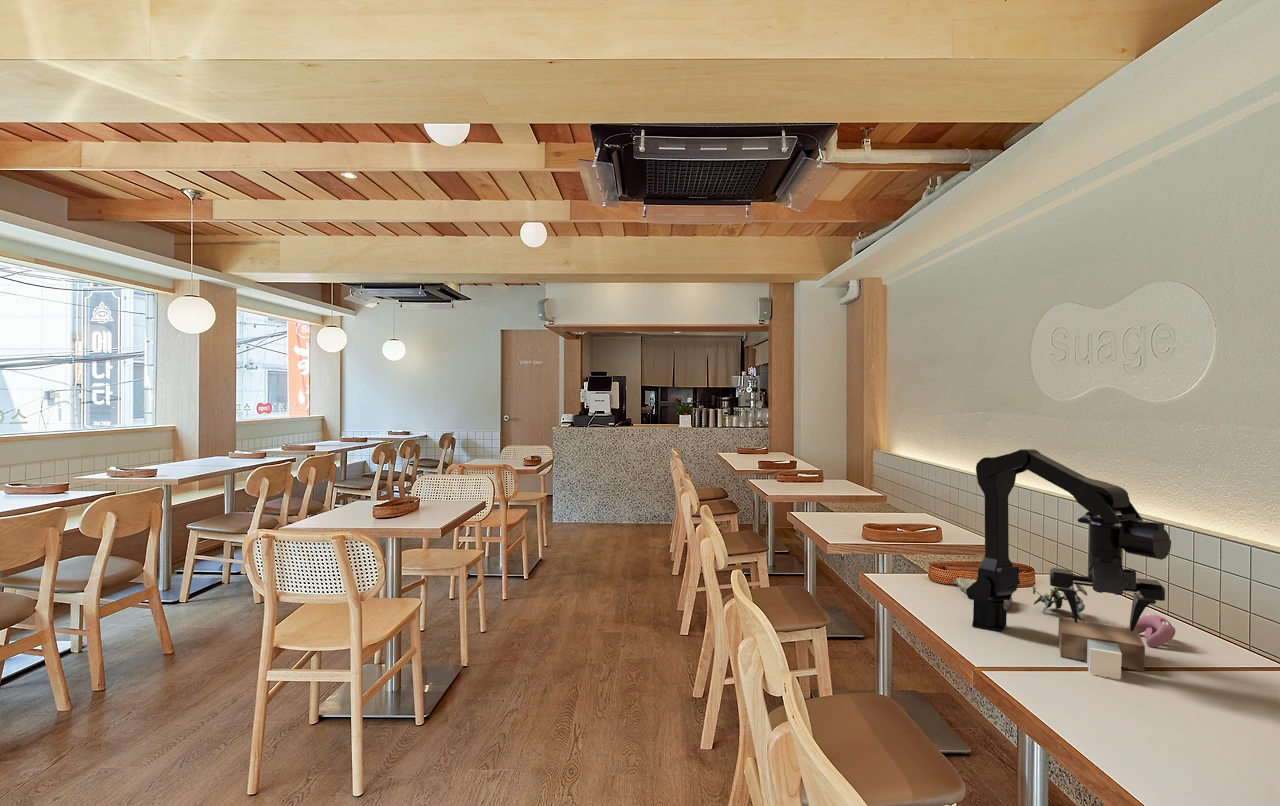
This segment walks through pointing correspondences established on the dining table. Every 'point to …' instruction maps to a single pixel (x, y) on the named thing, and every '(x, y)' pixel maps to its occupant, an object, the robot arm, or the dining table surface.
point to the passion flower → (1058, 599)
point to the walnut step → (1078, 634)
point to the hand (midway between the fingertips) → (1103, 626)
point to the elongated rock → (967, 583)
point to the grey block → (1104, 659)
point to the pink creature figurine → (1155, 629)
